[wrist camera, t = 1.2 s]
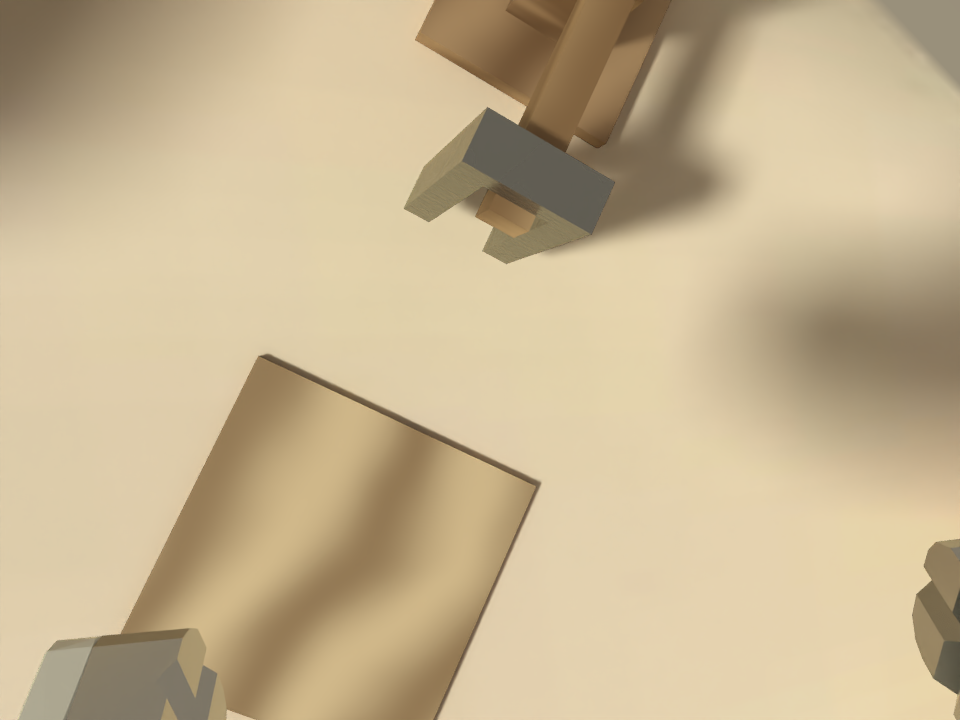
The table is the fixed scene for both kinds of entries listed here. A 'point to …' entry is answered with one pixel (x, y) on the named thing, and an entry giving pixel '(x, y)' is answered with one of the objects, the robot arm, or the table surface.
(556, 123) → the stand
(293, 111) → the table surface
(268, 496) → the mat
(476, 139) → the arch
